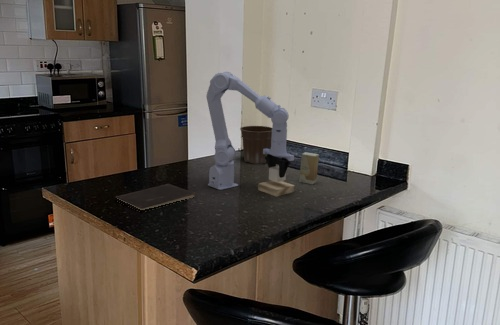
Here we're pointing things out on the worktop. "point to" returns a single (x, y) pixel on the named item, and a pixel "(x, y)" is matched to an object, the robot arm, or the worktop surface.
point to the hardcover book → (156, 196)
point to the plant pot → (256, 143)
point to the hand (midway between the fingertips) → (277, 175)
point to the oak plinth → (276, 188)
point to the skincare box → (309, 168)
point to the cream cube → (275, 174)
